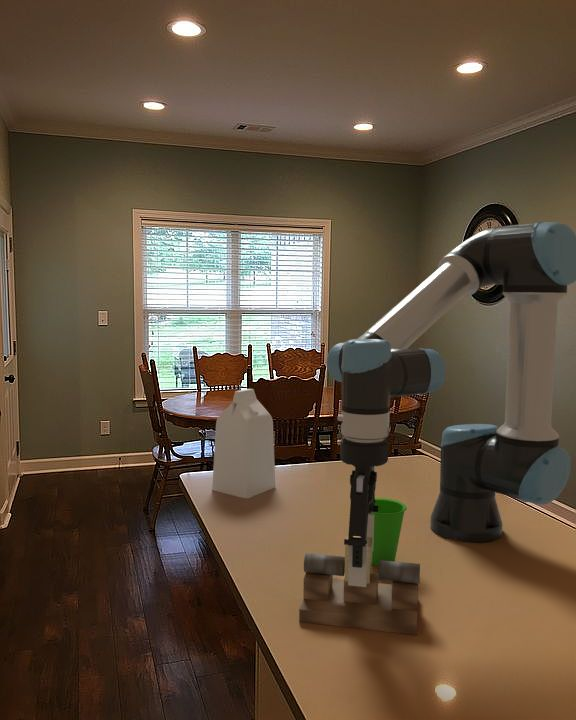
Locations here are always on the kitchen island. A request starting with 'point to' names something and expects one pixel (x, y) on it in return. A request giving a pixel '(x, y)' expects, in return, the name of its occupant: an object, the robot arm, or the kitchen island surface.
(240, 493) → the milk
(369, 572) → the wooden block
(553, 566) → the kitchen island surface
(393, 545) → the cup
